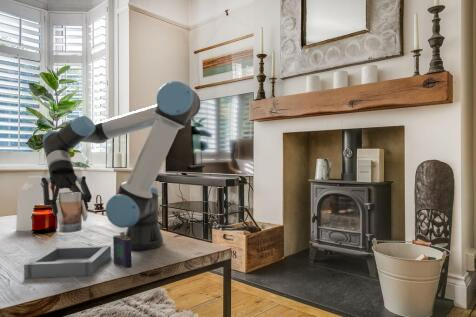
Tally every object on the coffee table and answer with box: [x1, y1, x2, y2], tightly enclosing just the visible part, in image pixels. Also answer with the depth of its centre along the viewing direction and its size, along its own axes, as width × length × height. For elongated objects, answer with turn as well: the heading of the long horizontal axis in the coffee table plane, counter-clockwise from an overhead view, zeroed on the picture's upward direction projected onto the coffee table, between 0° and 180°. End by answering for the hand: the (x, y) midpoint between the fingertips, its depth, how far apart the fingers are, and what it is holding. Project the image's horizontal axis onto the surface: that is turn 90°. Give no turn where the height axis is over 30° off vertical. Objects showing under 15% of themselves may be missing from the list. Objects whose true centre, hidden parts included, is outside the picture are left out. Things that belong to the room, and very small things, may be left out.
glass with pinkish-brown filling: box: [58, 191, 83, 234], centre depth 107 cm, size 6×6×12 cm
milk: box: [15, 175, 54, 232], centre depth 167 cm, size 12×12×26 cm
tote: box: [23, 244, 112, 279], centre depth 107 cm, size 19×19×4 cm
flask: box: [112, 231, 133, 269], centre depth 109 cm, size 9×3×11 cm, turn 48°
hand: (73, 219), depth 105 cm, fingers closed on glass with pinkish-brown filling, 6 cm apart
